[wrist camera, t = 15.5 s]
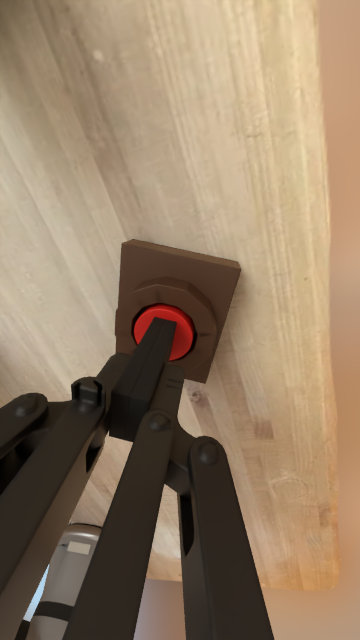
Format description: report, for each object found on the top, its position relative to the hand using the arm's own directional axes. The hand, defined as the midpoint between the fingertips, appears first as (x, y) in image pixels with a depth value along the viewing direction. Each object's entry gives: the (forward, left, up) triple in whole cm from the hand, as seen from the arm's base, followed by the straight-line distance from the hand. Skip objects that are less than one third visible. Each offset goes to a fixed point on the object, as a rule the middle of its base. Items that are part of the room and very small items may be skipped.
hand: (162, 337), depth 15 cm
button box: (0, 0, -5) cm, 5 cm away
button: (0, 0, -2) cm, 2 cm away
